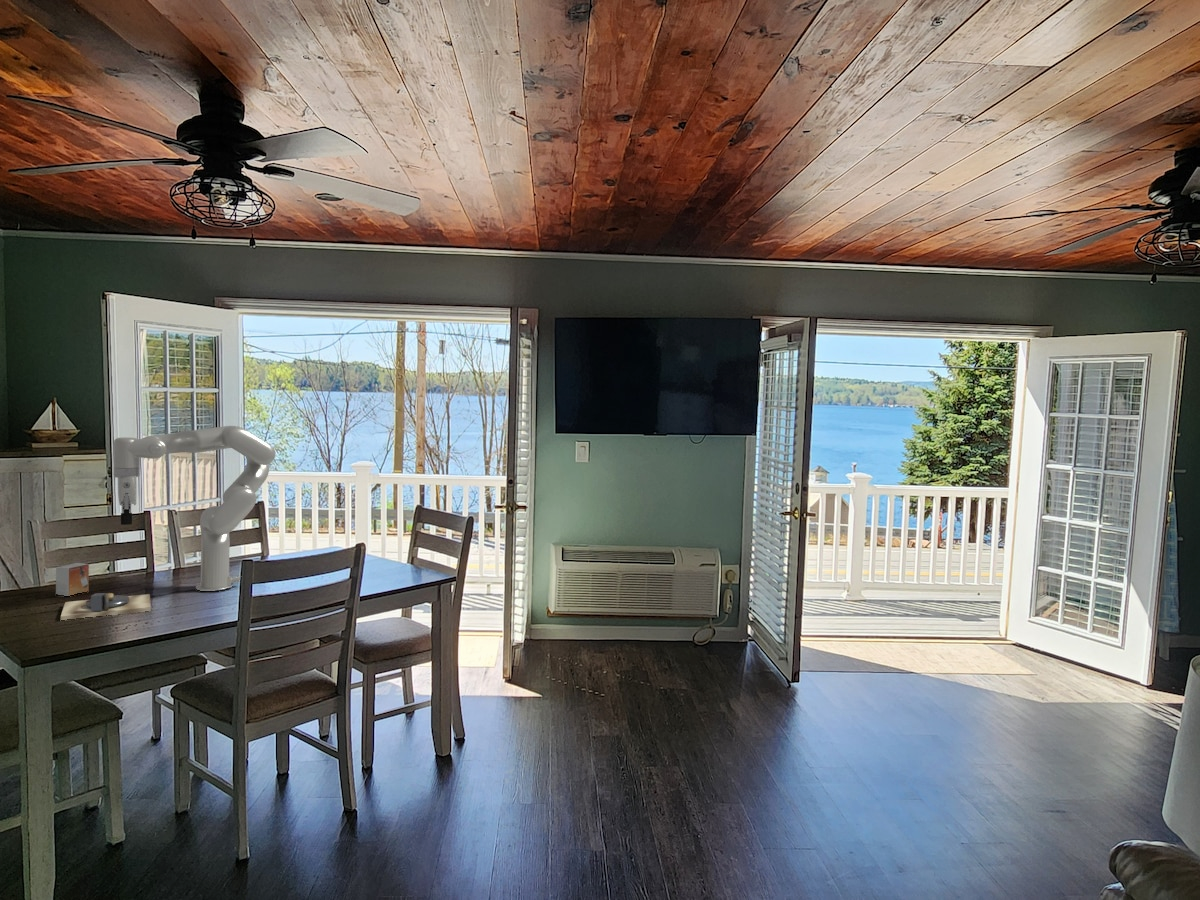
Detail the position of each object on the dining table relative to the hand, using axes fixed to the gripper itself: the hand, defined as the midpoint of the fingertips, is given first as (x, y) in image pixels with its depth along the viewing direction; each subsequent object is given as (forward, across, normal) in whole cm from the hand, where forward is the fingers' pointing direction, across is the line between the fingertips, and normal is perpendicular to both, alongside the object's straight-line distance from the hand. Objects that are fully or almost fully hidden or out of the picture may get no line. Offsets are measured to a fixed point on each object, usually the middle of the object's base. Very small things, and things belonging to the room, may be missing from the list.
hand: (126, 524), depth 241 cm
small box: (+27, +16, +16) cm, 36 cm away
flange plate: (+25, -11, +5) cm, 28 cm away
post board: (+27, -10, +5) cm, 29 cm away
